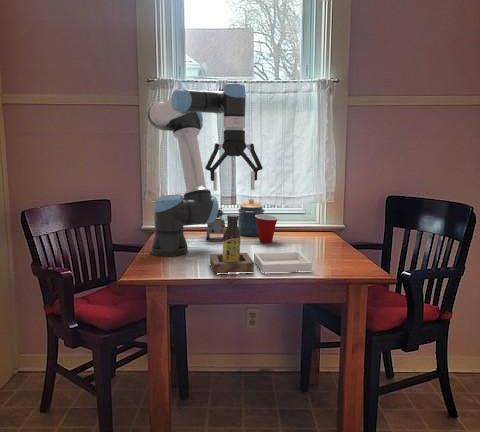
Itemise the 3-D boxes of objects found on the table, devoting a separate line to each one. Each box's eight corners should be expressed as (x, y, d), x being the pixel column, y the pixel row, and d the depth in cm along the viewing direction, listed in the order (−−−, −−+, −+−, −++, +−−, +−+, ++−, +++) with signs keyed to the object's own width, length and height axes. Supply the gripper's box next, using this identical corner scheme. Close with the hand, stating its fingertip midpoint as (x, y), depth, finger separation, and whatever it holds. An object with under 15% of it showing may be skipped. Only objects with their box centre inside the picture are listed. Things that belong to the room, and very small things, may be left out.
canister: (256, 238, 216) (257, 201, 213) (232, 234, 223) (233, 199, 219) (268, 233, 228) (269, 197, 224) (245, 230, 234) (246, 195, 231)
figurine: (226, 236, 220) (226, 205, 217) (225, 241, 209) (225, 209, 206) (207, 235, 220) (207, 205, 218) (205, 241, 209) (205, 208, 206)
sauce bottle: (226, 272, 163) (226, 217, 159) (219, 267, 168) (219, 214, 165) (242, 270, 165) (243, 216, 162) (236, 265, 171) (236, 213, 167)
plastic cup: (279, 244, 204) (280, 218, 202) (255, 244, 204) (256, 218, 201) (276, 238, 215) (276, 213, 213) (253, 239, 214) (253, 213, 212)
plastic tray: (262, 274, 161) (262, 264, 160) (253, 261, 176) (254, 253, 176) (311, 272, 164) (312, 262, 163) (298, 260, 179) (299, 251, 179)
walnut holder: (214, 275, 159) (214, 264, 158) (210, 264, 173) (210, 253, 172) (253, 273, 161) (253, 262, 161) (246, 262, 175) (246, 252, 174)
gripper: (199, 128, 153) (200, 191, 157) (271, 129, 158) (270, 190, 162) (197, 129, 161) (197, 189, 164) (266, 129, 165) (265, 188, 169)
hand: (233, 190), depth 163 cm, fingers open, 13 cm apart
